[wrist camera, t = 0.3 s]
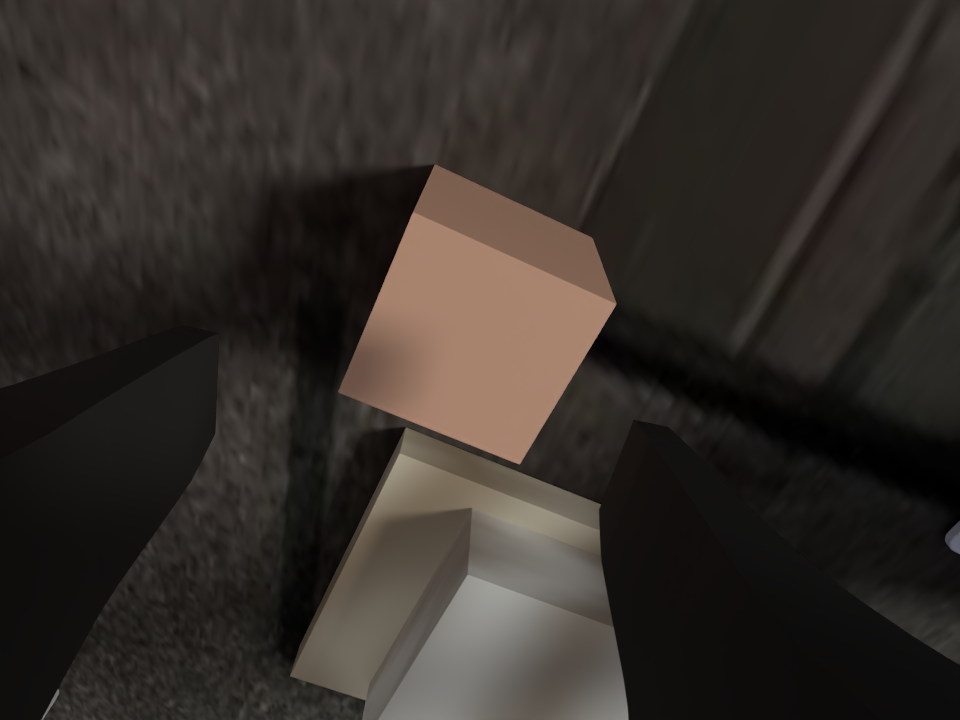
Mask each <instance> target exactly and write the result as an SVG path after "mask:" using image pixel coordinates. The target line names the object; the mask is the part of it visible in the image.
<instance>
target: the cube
mask: <svg viewBox="0 0 960 720" xmlns="http://www.w3.org/2000/svg"><path fill="white" fill-rule="evenodd" d="M615 306H616V302H615V299H614V296H613V293H612V291H611V288H610V285H609V282H608V279H607V277H606V274H605V271H604V268H603V266H602V263H601V260H600V257H599V255H598V252H597V249H596V246H595V244H594V241H593V238H591V237H589V236H587V235H585V234H583V233H581V232H579V231H576V230H574V229H572V228H570V227H568V226H566V225H564V224H561V223H559V222H557V221H555V220H553V219H551V218H549V217H546V216H544V215H542V214H540V213H538V212H536V211H534V210H532V209H529V208H527V207H525V206H523V205H521V204H519V203H517V202H514V201H512V200H510V199H508V198H506V197H504V196H502V195H499V194H497V193H495V192H493V191H491V190H489V189H487V188H484V187H482V186H480V185H478V184H476V183H474V182H472V181H469V180H467V179H465V178H463V177H461V176H459V175H457V174H455V173H452V172H450V171H448V170H446V169H444V168H442V167H440V166H437V165H434V167H433V170H432V172H431V174H430V176H429V178H428V181H427V183H426V185H425V187H424V189H423V192H422V194H421V196H420V198H419V200H418V202H417V205H416V207H415V209H414V211H413V214H412V216H411V218H410V221H409V223H408V226H407V228H406V230H405V233H404V235H403V238H402V240H401V242H400V245H399V247H398V250H397V252H396V254H395V257H394V259H393V262H392V264H391V266H390V269H389V271H388V274H387V276H386V278H385V281H384V283H383V286H382V288H381V290H380V293H379V295H378V298H377V300H376V303H375V305H374V307H373V310H372V312H371V315H370V317H369V319H368V322H367V324H366V327H365V329H364V331H363V334H362V336H361V339H360V341H359V343H358V346H357V348H356V351H355V353H354V355H353V358H352V360H351V363H350V365H349V367H348V370H347V372H346V375H345V377H344V379H343V382H342V384H341V387H340V389H339V391H338V393H341V394H343V395H346V396H348V397H351V398H353V399H356V400H358V401H361V402H363V403H366V404H368V405H371V406H374V407H376V408H379V409H381V410H384V411H386V412H389V413H391V414H394V415H396V416H399V417H401V418H404V419H406V420H409V421H411V422H414V423H416V424H419V425H421V426H424V427H426V428H429V429H431V430H434V431H436V432H439V433H441V434H444V435H446V436H449V437H451V438H454V439H457V440H459V441H462V442H464V443H467V444H469V445H472V446H474V447H477V448H479V449H482V450H484V451H487V452H489V453H492V454H494V455H497V456H499V457H502V458H504V459H507V460H509V461H512V462H514V463H517V464H519V465H520V463H521V461H522V460H523V458H524V456H525V455H526V453H527V451H528V450H529V448H530V447H531V445H532V443H533V442H534V440H535V438H536V437H537V435H538V433H539V432H540V430H541V428H542V427H543V425H544V423H545V422H546V420H547V418H548V417H549V415H550V413H551V412H552V410H553V408H554V407H555V405H556V403H557V402H558V400H559V398H560V397H561V395H562V393H563V392H564V390H565V389H566V387H567V385H568V384H569V382H570V380H571V379H572V377H573V375H574V374H575V372H576V370H577V369H578V367H579V365H580V364H581V362H582V360H583V359H584V357H585V355H586V354H587V352H588V350H589V349H590V347H591V345H592V344H593V342H594V340H595V339H596V337H597V335H598V334H599V332H600V331H601V329H602V327H603V326H604V324H605V322H606V321H607V319H608V317H609V316H610V314H611V312H612V311H613V309H614V307H615Z"/></svg>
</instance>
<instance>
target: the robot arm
mask: <svg viewBox="0 0 960 720" xmlns="http://www.w3.org/2000/svg"><path fill="white" fill-rule="evenodd" d="M218 353H219V333H216V332H211V331H206V330H201V329H197V328H192V327H187V326H180V327H176V328H172V329H169V330H166V331H163V332H160V333H158V334H155V335H152V336H149V337H147V338H144V339H141V340H139V341H136V342H133V343H131V344H128V345H126V346H123V347H120V348H118V349H115V350H112V351H110V352H107V353H104V354H102V355H99V356H96V357H94V358H91V359H88V360H85V361H83V362H80V363H77V364H74V365H71V366H68V367H65V368H62V369H59V370H56V371H53V372H50V373H47V374H44V375H41V376H38V377H35V378H32V379H29V380H26V381H23V382H20V383H17V384H14V385H11V386H7V387H4V388H0V720H42V718H43V716H44V714H45V712H46V710H47V708H48V707H49V705H50V703H51V701H52V699H53V697H54V695H55V693H56V691H57V690H58V688H59V686H60V684H61V682H62V680H63V678H64V676H65V675H66V673H67V671H68V669H69V667H70V665H71V664H72V662H73V660H74V658H75V656H76V655H77V653H78V651H79V649H80V647H81V646H82V644H83V642H84V640H85V639H86V637H87V635H88V633H89V631H90V630H91V628H92V626H93V624H94V622H95V621H96V619H97V617H98V615H99V614H100V612H101V610H102V609H103V607H104V606H105V604H106V602H107V601H108V599H109V598H110V596H111V595H112V593H113V592H114V590H115V588H116V587H117V585H118V584H119V583H120V581H121V580H122V578H123V577H124V576H125V574H126V573H127V571H128V570H129V568H130V567H131V566H132V564H133V563H134V561H135V560H136V559H137V557H138V556H139V554H140V553H141V552H142V550H143V549H144V547H145V546H146V545H147V543H148V542H149V540H150V539H151V538H152V536H153V535H154V533H155V532H156V531H157V529H158V528H159V526H160V525H161V523H162V522H163V521H164V519H165V518H166V516H167V515H168V514H169V512H170V511H171V509H172V508H173V506H174V505H175V504H176V502H177V501H178V499H179V498H180V496H181V495H182V493H183V492H184V491H185V489H186V488H187V486H188V485H189V483H190V482H191V480H192V478H193V476H194V474H195V473H196V471H197V469H198V467H199V465H200V463H201V461H202V459H203V457H204V455H205V453H206V451H207V449H208V447H209V445H210V443H211V441H212V439H213V437H214V435H215V426H216V402H217V378H218ZM599 527H600V549H601V562H602V568H603V574H604V579H605V585H606V590H607V596H608V601H609V606H610V611H611V617H612V622H613V627H614V632H615V637H616V642H617V648H618V653H619V658H620V663H621V668H622V673H623V679H624V686H625V692H626V699H627V706H628V718H629V720H960V665H959V664H957V663H955V662H954V661H952V660H950V659H949V658H947V657H945V656H944V655H942V654H940V653H939V652H937V651H936V650H934V649H932V648H931V647H929V646H928V645H926V644H924V643H923V642H921V641H920V640H918V639H916V638H915V637H913V636H912V635H910V634H909V633H907V632H906V631H904V630H903V629H901V628H900V627H898V626H897V625H895V624H894V623H892V622H891V621H889V620H888V619H886V618H885V617H884V616H882V615H881V614H879V613H878V612H876V611H875V610H873V609H872V608H870V607H869V606H867V605H866V604H865V603H863V602H862V601H860V600H859V599H858V598H856V597H855V596H854V595H852V594H851V593H849V592H848V591H847V590H845V589H844V588H843V587H841V586H840V585H839V584H838V583H836V582H835V581H834V580H832V579H831V578H830V577H829V576H827V575H826V574H825V573H824V572H822V571H821V570H820V569H818V568H817V567H816V566H815V565H813V564H812V563H811V562H810V561H808V560H807V559H806V558H805V557H803V556H802V555H801V554H800V553H799V552H798V551H796V550H795V549H794V548H793V547H792V546H790V545H789V544H788V543H787V542H786V541H785V540H784V539H783V538H782V537H780V536H779V535H778V534H777V533H776V532H775V531H774V530H773V529H772V528H771V527H769V526H768V525H767V524H766V523H765V522H764V521H763V520H762V519H761V518H760V517H759V516H757V515H756V514H755V513H754V512H753V511H752V510H751V509H750V508H749V507H748V506H747V505H746V504H745V503H744V502H743V501H742V500H741V499H740V498H739V497H738V496H737V495H736V494H735V493H734V492H733V491H732V490H731V489H730V488H729V487H728V486H727V485H726V484H725V483H724V482H723V481H722V480H721V479H720V478H719V477H718V476H717V475H716V474H715V473H714V472H713V471H712V470H711V469H710V468H709V467H708V466H707V465H706V464H705V463H704V462H703V461H702V459H701V458H700V457H699V456H698V455H697V454H696V453H695V452H694V451H693V450H692V449H691V448H690V447H689V446H688V445H687V444H686V443H685V442H684V441H683V440H682V439H681V438H680V437H678V436H677V435H676V434H675V433H674V432H673V431H672V430H671V429H669V428H668V427H665V426H660V425H656V424H651V423H646V422H641V421H636V420H634V421H633V423H632V426H631V428H630V431H629V434H628V436H627V439H626V441H625V444H624V447H623V449H622V452H621V454H620V457H619V459H618V462H617V465H616V467H615V470H614V472H613V475H612V478H611V480H610V483H609V485H608V488H607V490H606V493H605V496H604V498H603V501H602V503H601V506H600V508H599ZM945 542H946V544H947V545H948V546H949V547H950V549H951V550H953V551H954V552H956V553H958V554H960V521H959V522H958V523H957V524H956V525H955V526H954V527H953V528H951V529H950V530H949V531H948V533H947V534H946V536H945Z"/></svg>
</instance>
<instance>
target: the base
mask: <svg viewBox="0 0 960 720" xmlns="http://www.w3.org/2000/svg"><path fill="white" fill-rule="evenodd" d="M600 506H601V504H599V503H596V502H594V501H591V500H588V499H586V498H583V497H581V496H578V495H576V494H573V493H571V492H568V491H566V490H563V489H561V488H558V487H556V486H553V485H550V484H548V483H545V482H543V481H540V480H538V479H535V478H533V477H530V476H528V475H525V474H523V473H520V472H518V471H515V470H512V469H510V468H507V467H505V466H502V465H500V464H497V463H495V462H492V461H490V460H487V459H485V458H482V457H480V456H477V455H474V454H472V453H469V452H467V451H464V450H462V449H459V448H457V447H454V446H452V445H449V444H447V443H444V442H442V441H439V440H436V439H434V438H431V437H429V436H426V435H424V434H421V433H419V432H416V431H414V430H411V429H409V428H405V430H404V432H403V434H402V436H401V438H400V440H399V443H398V445H397V447H396V449H395V451H394V453H393V455H392V457H391V459H390V461H389V463H388V465H387V467H386V469H385V471H384V473H383V475H382V477H381V480H380V482H379V484H378V486H377V488H376V490H375V492H374V494H373V496H372V498H371V500H370V502H369V504H368V506H367V508H366V510H365V512H364V514H363V516H362V519H361V521H360V523H359V525H358V527H357V529H356V531H355V533H354V535H353V537H352V539H351V541H350V543H349V545H348V547H347V549H346V551H345V553H344V556H343V558H342V560H341V562H340V564H339V566H338V568H337V570H336V572H335V574H334V576H333V578H332V580H331V582H330V584H329V586H328V588H327V590H326V592H325V595H324V597H323V599H322V601H321V603H320V605H319V607H318V609H317V611H316V613H315V615H314V617H313V619H312V621H311V623H310V625H309V627H308V629H307V632H306V634H305V636H304V638H303V640H302V642H301V644H300V647H299V650H298V653H297V656H296V659H295V662H294V665H293V668H292V671H291V675H290V676H291V677H294V678H297V679H300V680H304V681H307V682H310V683H313V684H316V685H319V686H322V687H326V688H329V689H332V690H335V691H338V692H341V693H344V694H347V695H351V696H354V697H357V698H360V699H363V700H366V703H365V708H364V713H363V718H362V720H629V718H628V706H627V699H626V692H625V686H624V679H623V673H622V668H621V663H620V658H619V653H618V648H617V642H616V637H615V632H614V627H613V622H612V617H611V611H610V606H609V601H608V596H607V590H606V585H605V579H604V574H603V568H602V562H601V549H600V527H599V508H600Z"/></svg>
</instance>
